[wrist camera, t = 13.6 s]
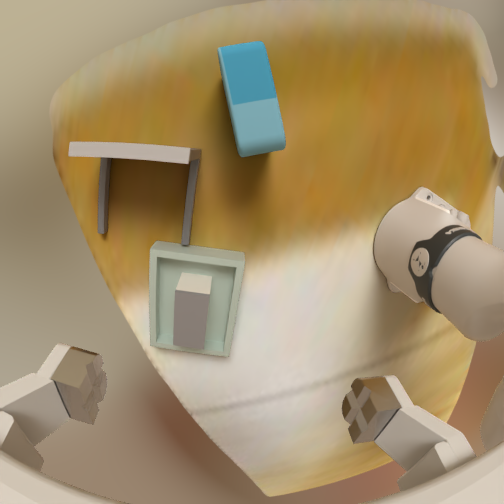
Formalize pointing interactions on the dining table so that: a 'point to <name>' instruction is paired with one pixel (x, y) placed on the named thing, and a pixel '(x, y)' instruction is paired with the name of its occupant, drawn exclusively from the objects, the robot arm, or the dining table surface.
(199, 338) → the tall grey rectangular block
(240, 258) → the tray
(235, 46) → the data package
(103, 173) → the bay
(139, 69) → the dining table surface
